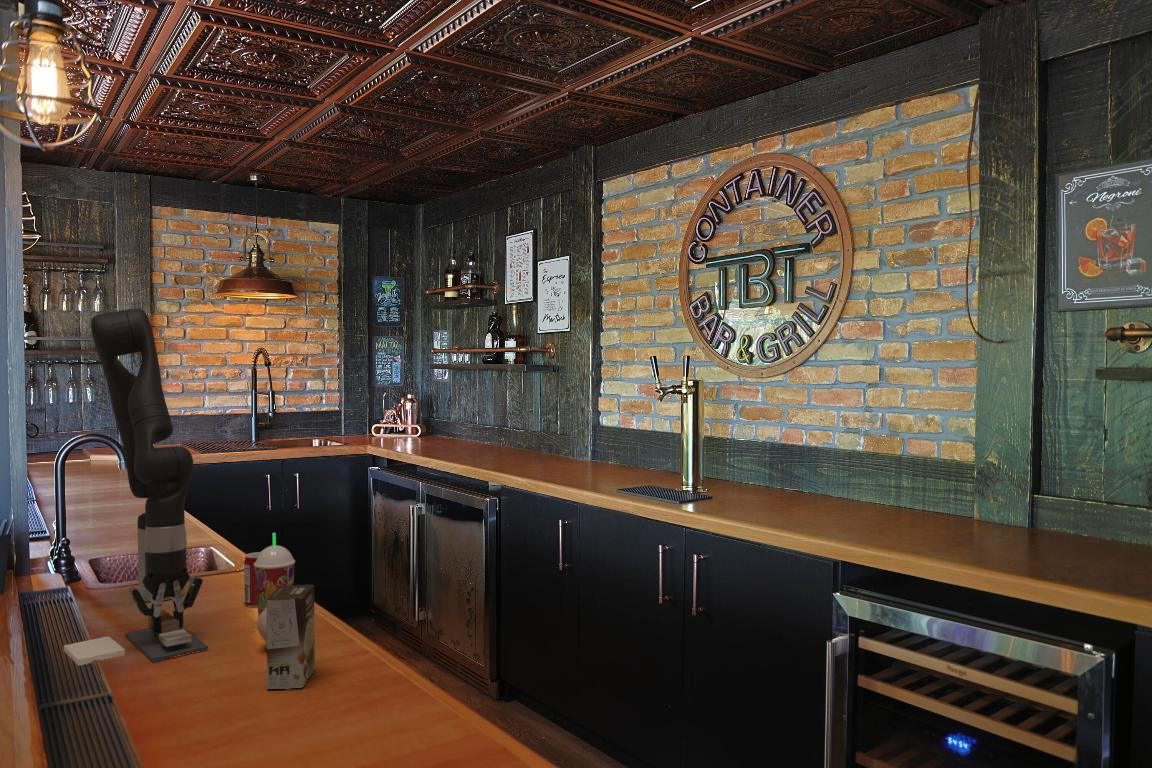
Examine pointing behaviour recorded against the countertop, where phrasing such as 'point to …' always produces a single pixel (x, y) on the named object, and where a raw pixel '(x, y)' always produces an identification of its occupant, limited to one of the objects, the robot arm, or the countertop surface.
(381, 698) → the countertop surface
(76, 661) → the tile
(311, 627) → the coffee box
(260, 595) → the smoothie
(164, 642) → the tan two-tone long part
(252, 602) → the soda can
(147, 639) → the mat
